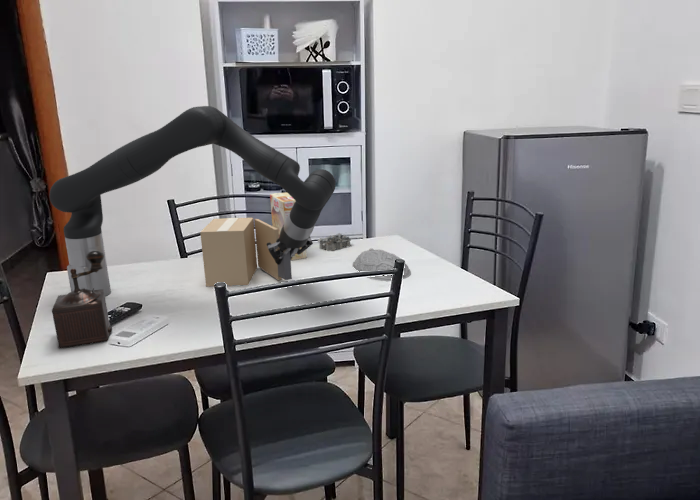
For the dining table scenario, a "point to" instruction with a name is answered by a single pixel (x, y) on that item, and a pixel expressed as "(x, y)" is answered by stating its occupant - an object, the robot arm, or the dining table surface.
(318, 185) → the robot arm
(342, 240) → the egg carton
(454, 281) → the dining table surface
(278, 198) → the coffeecake box
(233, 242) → the carton
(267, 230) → the carton flap
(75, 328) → the manual coffee grinder
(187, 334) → the dining table surface
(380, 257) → the grey oval domed piece
